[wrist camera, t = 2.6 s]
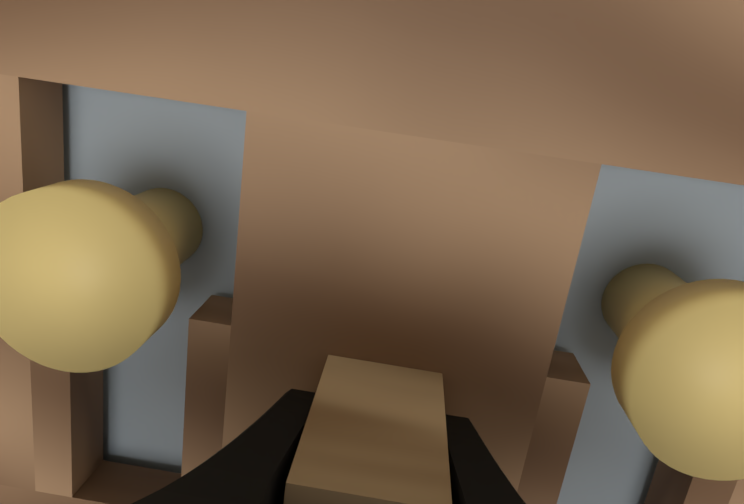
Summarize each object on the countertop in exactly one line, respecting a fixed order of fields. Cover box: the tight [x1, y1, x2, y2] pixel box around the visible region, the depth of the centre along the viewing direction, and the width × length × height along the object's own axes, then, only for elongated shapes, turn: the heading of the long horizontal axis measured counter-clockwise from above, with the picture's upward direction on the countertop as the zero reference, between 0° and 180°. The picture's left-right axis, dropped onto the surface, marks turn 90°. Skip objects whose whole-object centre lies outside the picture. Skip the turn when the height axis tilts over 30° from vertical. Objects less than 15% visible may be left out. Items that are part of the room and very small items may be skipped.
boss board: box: [0, 83, 744, 504], centre depth 12 cm, size 22×20×5 cm
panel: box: [0, 0, 744, 504], centre depth 11 cm, size 16×20×5 cm
